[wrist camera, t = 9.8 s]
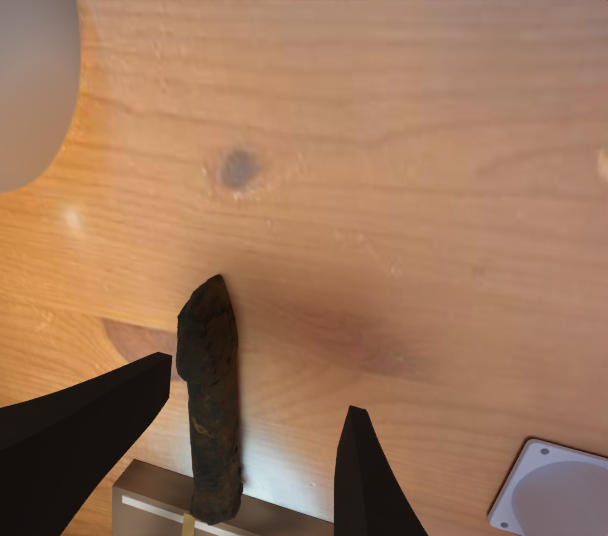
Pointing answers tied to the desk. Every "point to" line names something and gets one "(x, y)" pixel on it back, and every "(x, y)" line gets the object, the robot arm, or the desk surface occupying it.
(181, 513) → the grey brown flat box
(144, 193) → the desk surface
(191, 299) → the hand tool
